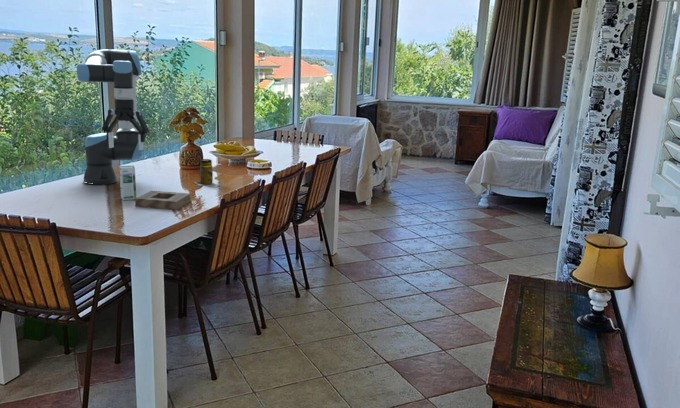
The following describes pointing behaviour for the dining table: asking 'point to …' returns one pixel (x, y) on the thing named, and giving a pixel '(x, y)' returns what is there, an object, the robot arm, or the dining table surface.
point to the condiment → (206, 172)
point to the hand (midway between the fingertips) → (126, 148)
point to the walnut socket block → (162, 200)
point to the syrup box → (127, 182)
